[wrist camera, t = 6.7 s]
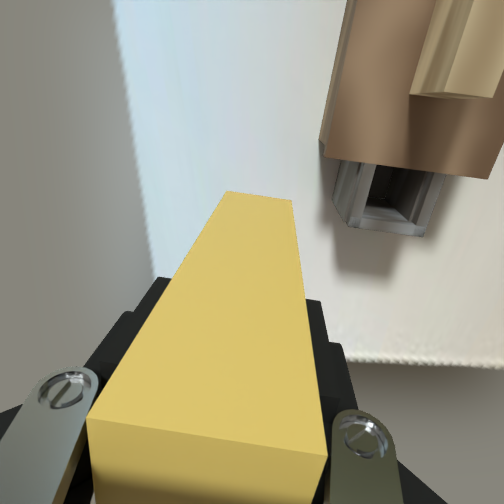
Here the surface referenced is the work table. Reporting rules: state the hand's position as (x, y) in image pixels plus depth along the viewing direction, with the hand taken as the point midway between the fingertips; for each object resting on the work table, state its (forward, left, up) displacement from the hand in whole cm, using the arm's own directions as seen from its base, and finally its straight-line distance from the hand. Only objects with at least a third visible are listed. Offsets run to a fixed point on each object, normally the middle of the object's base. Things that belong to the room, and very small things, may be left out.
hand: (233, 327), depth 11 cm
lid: (-12, -11, -23) cm, 28 cm away
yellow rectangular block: (0, 0, -11) cm, 11 cm away
